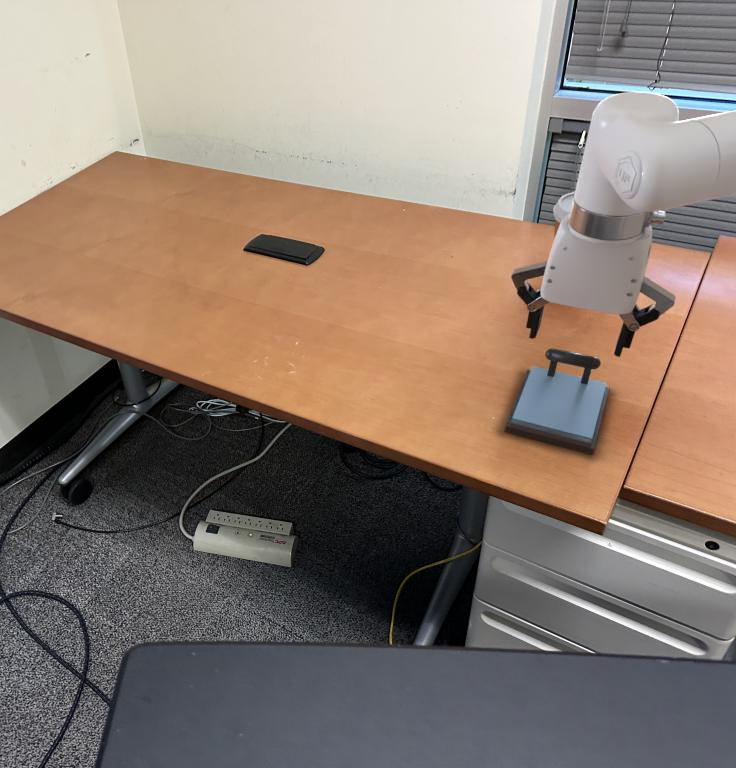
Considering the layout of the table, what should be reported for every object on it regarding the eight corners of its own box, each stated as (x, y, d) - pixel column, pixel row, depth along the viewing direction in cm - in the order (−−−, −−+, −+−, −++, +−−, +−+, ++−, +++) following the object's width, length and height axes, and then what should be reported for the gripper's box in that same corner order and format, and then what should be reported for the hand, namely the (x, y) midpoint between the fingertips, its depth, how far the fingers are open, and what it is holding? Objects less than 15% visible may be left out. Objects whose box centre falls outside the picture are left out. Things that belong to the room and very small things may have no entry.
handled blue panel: (531, 369, 92) (537, 341, 89) (606, 386, 88) (614, 357, 85) (511, 421, 85) (517, 393, 82) (591, 442, 81) (600, 412, 78)
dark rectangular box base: (526, 375, 93) (528, 364, 92) (608, 393, 88) (611, 382, 87) (504, 431, 85) (506, 421, 84) (592, 455, 81) (595, 444, 80)
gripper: (704, 211, 73) (658, 339, 84) (531, 191, 80) (510, 310, 91) (699, 245, 68) (650, 376, 79) (516, 220, 76) (495, 342, 87)
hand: (575, 341), depth 85 cm, fingers open, 9 cm apart
